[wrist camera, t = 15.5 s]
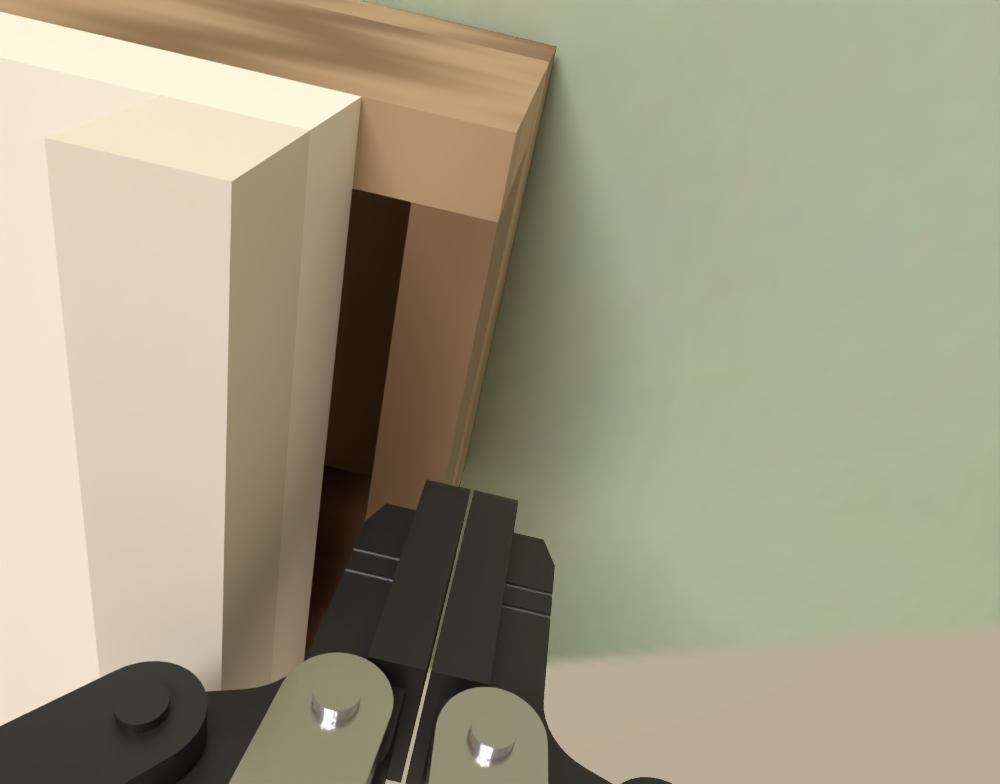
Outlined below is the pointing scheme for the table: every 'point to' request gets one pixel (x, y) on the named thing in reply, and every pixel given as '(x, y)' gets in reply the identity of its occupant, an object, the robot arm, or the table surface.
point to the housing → (384, 219)
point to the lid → (161, 358)
